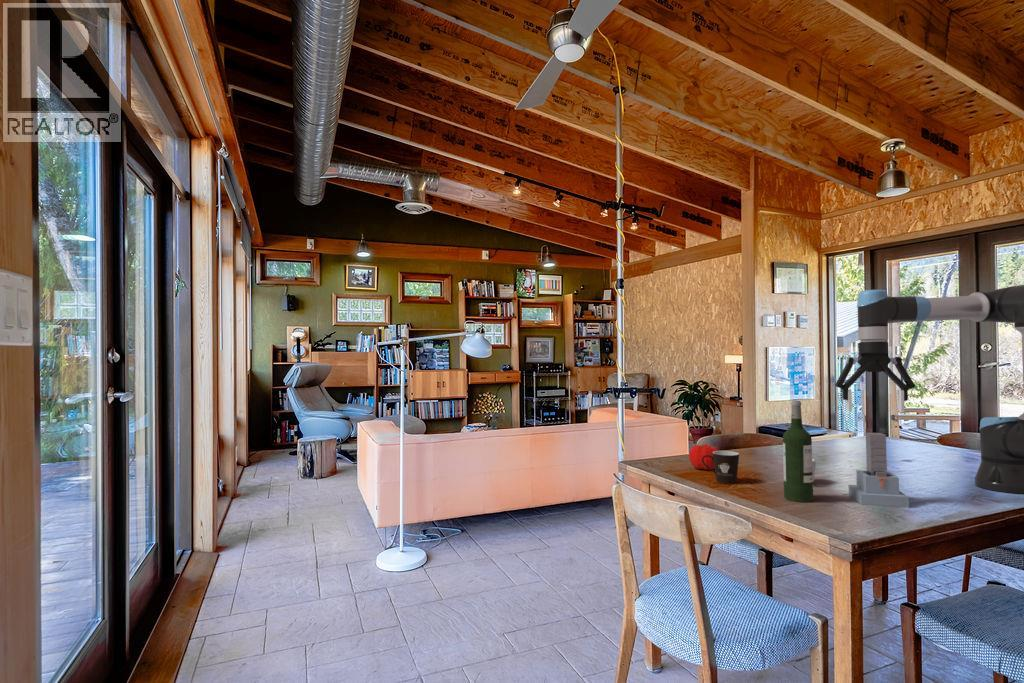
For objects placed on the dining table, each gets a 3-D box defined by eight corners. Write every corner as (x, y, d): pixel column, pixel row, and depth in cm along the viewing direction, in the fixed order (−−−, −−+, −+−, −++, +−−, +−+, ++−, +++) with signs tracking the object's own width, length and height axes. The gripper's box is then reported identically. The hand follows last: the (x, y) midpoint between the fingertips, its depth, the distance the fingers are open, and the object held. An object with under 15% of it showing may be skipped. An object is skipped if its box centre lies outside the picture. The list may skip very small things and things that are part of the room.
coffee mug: (745, 482, 185) (744, 453, 185) (730, 486, 180) (729, 456, 181) (715, 476, 195) (715, 448, 195) (700, 479, 190) (700, 451, 190)
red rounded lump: (718, 473, 200) (717, 448, 200) (685, 469, 207) (685, 446, 207) (724, 467, 209) (723, 444, 209) (692, 464, 216) (692, 442, 216)
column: (882, 499, 162) (880, 433, 163) (888, 503, 158) (886, 435, 158) (867, 498, 163) (865, 432, 164) (872, 502, 159) (871, 434, 159)
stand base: (893, 496, 165) (892, 466, 165) (909, 507, 153) (908, 475, 154) (848, 494, 168) (847, 464, 168) (861, 504, 157) (860, 473, 157)
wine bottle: (815, 503, 159) (812, 402, 159) (785, 501, 161) (783, 401, 162) (810, 496, 166) (808, 399, 167) (782, 494, 169) (780, 399, 170)
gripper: (916, 340, 162) (918, 411, 161) (823, 342, 169) (824, 409, 169) (927, 340, 155) (929, 413, 154) (829, 341, 162) (831, 411, 162)
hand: (874, 411), depth 161 cm, fingers open, 13 cm apart
